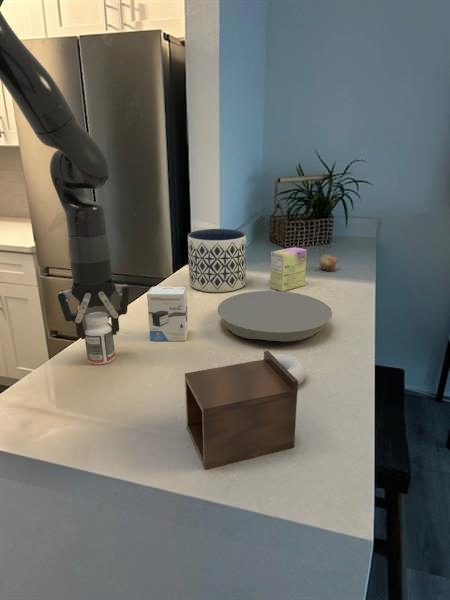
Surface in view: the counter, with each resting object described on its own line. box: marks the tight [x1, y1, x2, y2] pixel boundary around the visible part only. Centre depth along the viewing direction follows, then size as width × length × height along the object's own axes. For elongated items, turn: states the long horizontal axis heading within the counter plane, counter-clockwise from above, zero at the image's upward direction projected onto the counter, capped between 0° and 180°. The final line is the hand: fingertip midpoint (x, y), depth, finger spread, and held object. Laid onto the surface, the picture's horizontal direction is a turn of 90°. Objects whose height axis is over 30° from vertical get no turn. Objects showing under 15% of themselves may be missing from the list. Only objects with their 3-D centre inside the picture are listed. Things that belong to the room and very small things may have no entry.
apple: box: [318, 253, 338, 272], centre depth 153 cm, size 6×8×6 cm
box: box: [269, 246, 308, 292], centre depth 135 cm, size 10×6×12 cm, turn 128°
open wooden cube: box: [184, 350, 299, 470], centre depth 65 cm, size 14×10×11 cm
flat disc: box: [217, 290, 333, 342], centre depth 107 cm, size 28×28×4 cm
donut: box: [258, 353, 307, 385], centre depth 83 cm, size 10×4×10 cm
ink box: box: [146, 286, 189, 342], centre depth 100 cm, size 8×5×12 cm, turn 88°
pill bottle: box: [83, 311, 116, 366], centre depth 90 cm, size 6×6×10 cm
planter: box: [187, 228, 247, 293], centre depth 137 cm, size 18×18×16 cm
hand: (98, 335), depth 89 cm, fingers closed on pill bottle, 5 cm apart
